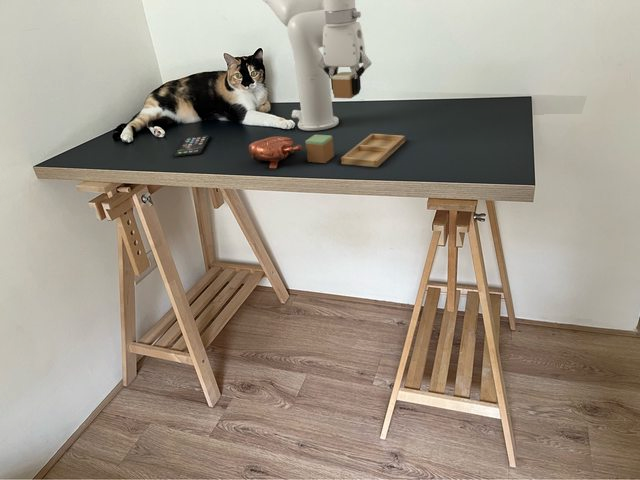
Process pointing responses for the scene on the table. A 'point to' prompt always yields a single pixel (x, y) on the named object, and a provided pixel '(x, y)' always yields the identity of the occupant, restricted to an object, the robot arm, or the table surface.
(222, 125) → the table surface
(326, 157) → the pad sage
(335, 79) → the pad cream
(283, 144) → the heart
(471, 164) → the table surface
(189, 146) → the smartphone
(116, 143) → the table surface
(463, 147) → the table surface
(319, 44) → the robot arm
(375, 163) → the wooden divided tray
